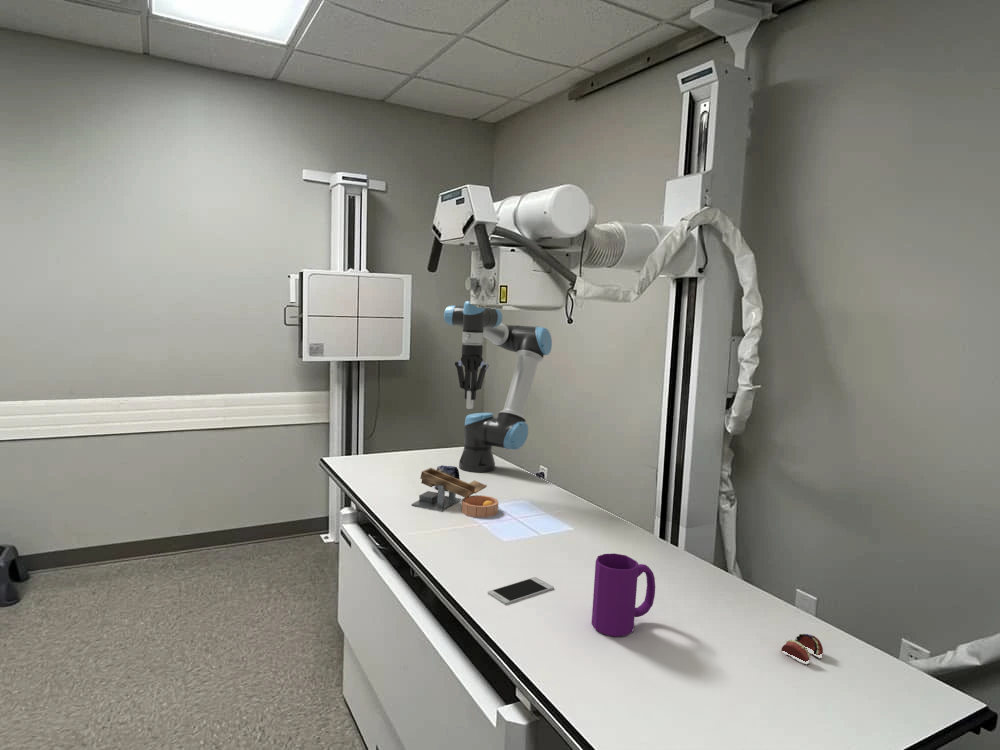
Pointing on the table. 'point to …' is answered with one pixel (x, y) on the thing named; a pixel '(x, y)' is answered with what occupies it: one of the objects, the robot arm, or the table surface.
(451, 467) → the rock
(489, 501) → the ball
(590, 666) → the table surface
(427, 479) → the lever
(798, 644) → the dentures
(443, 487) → the pivot base
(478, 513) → the terracotta bowl
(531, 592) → the smartphone
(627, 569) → the mug
